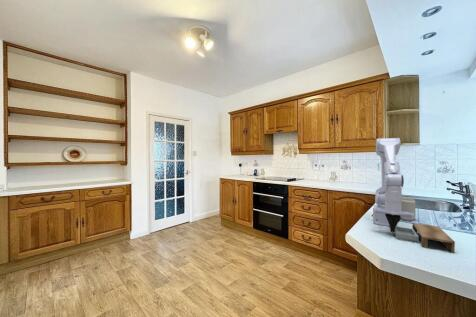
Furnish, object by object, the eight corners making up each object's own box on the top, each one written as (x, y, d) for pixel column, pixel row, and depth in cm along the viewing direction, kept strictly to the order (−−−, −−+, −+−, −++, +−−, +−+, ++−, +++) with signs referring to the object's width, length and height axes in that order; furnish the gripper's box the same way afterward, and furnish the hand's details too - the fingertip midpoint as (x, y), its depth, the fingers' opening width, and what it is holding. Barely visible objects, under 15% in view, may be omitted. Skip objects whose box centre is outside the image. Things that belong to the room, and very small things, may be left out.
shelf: (422, 247, 78) (422, 236, 78) (412, 231, 93) (412, 222, 93) (454, 253, 73) (454, 241, 73) (438, 236, 88) (438, 226, 88)
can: (416, 222, 106) (417, 199, 106) (398, 219, 110) (399, 197, 110) (413, 218, 112) (414, 197, 112) (396, 216, 116) (397, 195, 116)
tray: (396, 239, 85) (396, 233, 85) (393, 231, 93) (393, 225, 93) (418, 243, 81) (418, 236, 81) (413, 234, 90) (413, 228, 90)
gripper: (373, 200, 90) (372, 230, 90) (416, 205, 82) (415, 238, 82) (373, 197, 96) (372, 226, 96) (413, 201, 88) (412, 232, 88)
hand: (392, 231), depth 90 cm, fingers closed
